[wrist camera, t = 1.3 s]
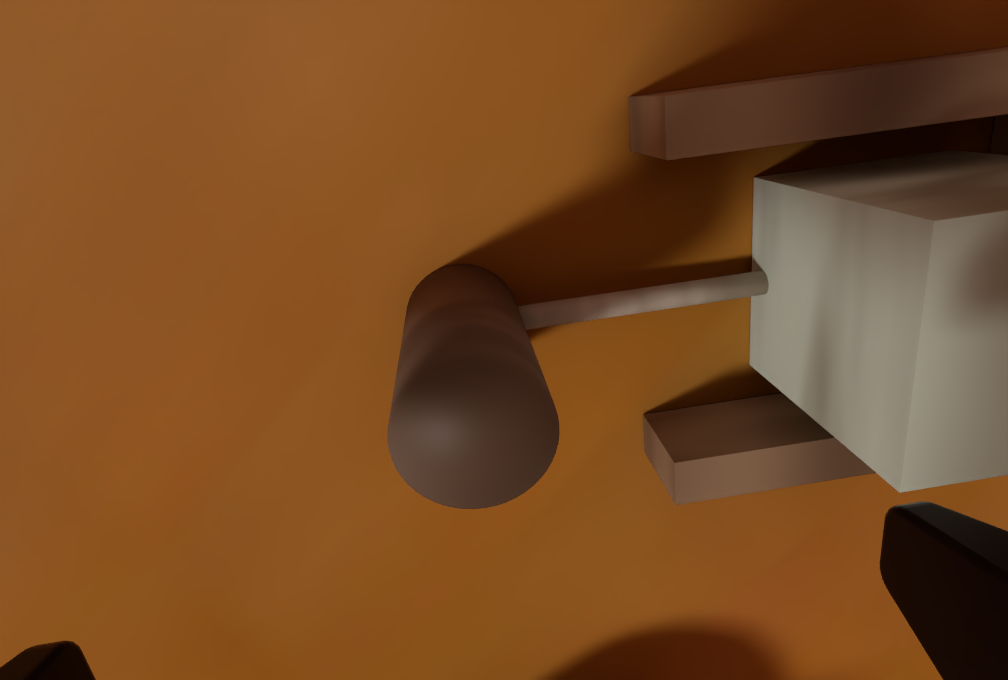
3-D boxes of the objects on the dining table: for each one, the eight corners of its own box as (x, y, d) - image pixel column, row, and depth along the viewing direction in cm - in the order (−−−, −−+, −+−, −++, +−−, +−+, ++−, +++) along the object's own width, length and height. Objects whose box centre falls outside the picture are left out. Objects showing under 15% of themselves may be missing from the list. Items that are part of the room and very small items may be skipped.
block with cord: (950, 149, 16) (1238, 176, 10) (926, 337, 17) (1157, 450, 12) (388, 227, 15) (357, 304, 9) (423, 414, 17) (415, 571, 11)
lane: (1055, 40, 15) (1169, 29, 12) (991, 397, 18) (1071, 441, 16) (628, 97, 14) (664, 95, 12) (645, 451, 18) (675, 504, 15)
